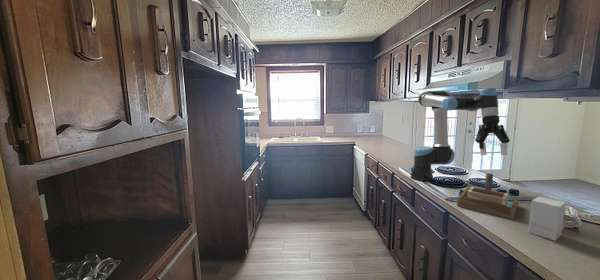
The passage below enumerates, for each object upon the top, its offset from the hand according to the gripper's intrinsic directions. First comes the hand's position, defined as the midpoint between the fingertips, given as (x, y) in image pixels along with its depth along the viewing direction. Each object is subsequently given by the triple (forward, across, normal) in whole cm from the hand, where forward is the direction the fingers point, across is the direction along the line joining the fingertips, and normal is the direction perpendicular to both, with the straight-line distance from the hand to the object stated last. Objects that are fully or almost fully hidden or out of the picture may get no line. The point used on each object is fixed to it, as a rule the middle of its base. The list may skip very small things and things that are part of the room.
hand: (494, 155), depth 138 cm
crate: (+26, -5, +3) cm, 27 cm away
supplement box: (+36, -4, -22) cm, 42 cm away
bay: (+28, -1, +6) cm, 28 cm away
